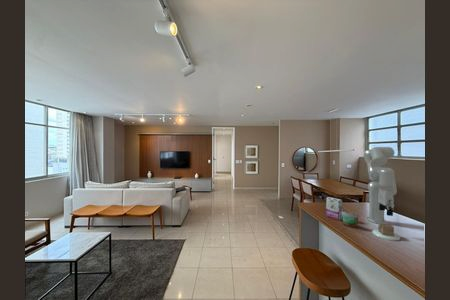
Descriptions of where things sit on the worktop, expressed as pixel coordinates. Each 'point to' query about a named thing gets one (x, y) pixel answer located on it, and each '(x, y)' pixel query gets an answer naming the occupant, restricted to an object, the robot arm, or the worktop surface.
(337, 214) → the candy bar box
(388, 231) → the walnut block
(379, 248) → the worktop surface
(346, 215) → the food container
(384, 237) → the dish
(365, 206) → the worktop surface
